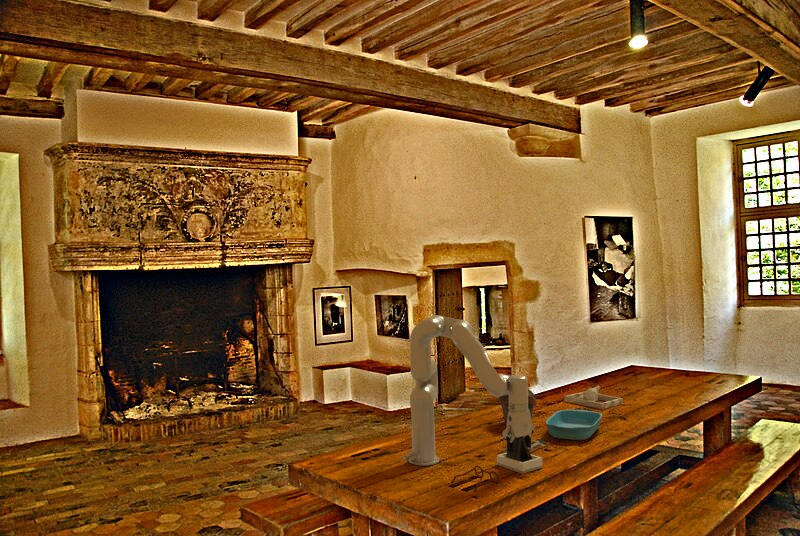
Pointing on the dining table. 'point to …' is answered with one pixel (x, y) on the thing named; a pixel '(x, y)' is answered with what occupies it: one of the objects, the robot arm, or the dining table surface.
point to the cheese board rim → (610, 401)
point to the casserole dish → (573, 424)
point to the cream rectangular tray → (519, 463)
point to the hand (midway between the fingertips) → (519, 449)
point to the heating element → (534, 444)
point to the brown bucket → (505, 403)
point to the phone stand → (519, 450)
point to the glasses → (480, 476)
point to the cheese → (591, 394)
